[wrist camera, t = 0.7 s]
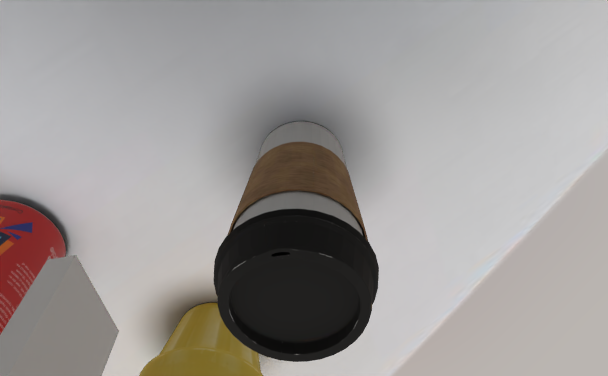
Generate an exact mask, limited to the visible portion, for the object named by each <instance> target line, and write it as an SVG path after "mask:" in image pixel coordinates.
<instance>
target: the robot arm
mask: <svg viewBox="0 0 608 376" xmlns="http://www.w3.org/2000/svg"><path fill="white" fill-rule="evenodd" d="M118 332H119V330H118V329H117V327H116V325H115V323H114V322H113V320H112V318H111V316H110V315H109V313H108V311H107V309H106V307H105V306H104V304H103V302H102V300H101V299H100V297H99V295H98V293H97V292H96V290H95V288H94V286H93V285H92V283H91V281H90V279H89V277H88V276H87V274H86V272H85V270H84V269H83V267H82V265H81V263H80V262H79V260H78V258H77V256H76V255H74V256H67V257H61V258H55V259H49V260H47V261H46V263H45V264H44V266H43V267H42V269H41V271H40V272H39V274H38V275H37V277H36V279H35V280H34V282H33V283H32V285H31V287H30V288H29V290H28V291H27V293H26V295H25V296H24V298H23V299H22V301H21V303H20V304H19V306H18V307H17V309H16V311H15V312H14V314H13V315H12V317H11V319H10V320H9V322H8V323H7V325H6V327H5V328H4V330H3V331H2V333H1V335H0V376H102V373H103V370H104V368H105V365H106V363H107V360H108V358H109V355H110V353H111V350H112V347H113V345H114V342H115V340H116V337H117V335H118Z"/></svg>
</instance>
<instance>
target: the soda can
mask: <svg viewBox="0 0 608 376" xmlns="http://www.w3.org/2000/svg"><path fill="white" fill-rule="evenodd" d="M65 256H66V247H65V243H64V240H63V237H62V235H61V233H60V232H59V230H58V229H57V227H56V226H55V225H54V224H53V223H52V222H51V221H50V220H49V219H48V218H47V217H46V216H45V215H43V214H42V213H40V212H39V211H37V210H35V209H33V208H31V207H29V206H27V205H24V204H21V203H18V202H14V201H8V200H0V335H1V333H2V331H3V330H4V328H5V327H6V325H7V323H8V322H9V320H10V319H11V317H12V315H13V314H14V312H15V311H16V309H17V307H18V306H19V304H20V303H21V301H22V299H23V298H24V296H25V295H26V293H27V291H28V290H29V288H30V287H31V285H32V283H33V282H34V280H35V279H36V277H37V275H38V274H39V272H40V271H41V269H42V267H43V266H44V264H45V263H46V261H47V260H49V259H55V258H61V257H65Z"/></svg>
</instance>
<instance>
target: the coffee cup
mask: <svg viewBox="0 0 608 376" xmlns="http://www.w3.org/2000/svg"><path fill="white" fill-rule="evenodd" d="M378 272H379V267H378V263H377V259H376V255H375V253H374V251H373V249H372V248H371V246H370V244H369V242H368V239H367V235H366V231H365V227H364V224H363V220H362V217H361V214H360V210H359V207H358V203H357V200H356V197H355V193H354V190H353V186H352V183H351V180H350V176H349V173H348V170H347V167H346V163H345V159H344V155H343V151H342V148H341V146H340V144H339V142H338V140H337V139H336V137H335V136H334V135H333V134H332V133H331V132H330V131H329V130H327V129H326V128H324V127H322V126H320V125H318V124H315V123H311V122H304V121H300V122H291V123H287V124H284V125H282V126H280V127H278V128H277V129H275V130H274V131H272V132H271V133H270V134H269V135H268V136H267V138H266V139H265V141H264V142H263V144H262V147H261V150H260V153H259V155H258V158H257V161H256V164H255V166H254V168H253V171H252V173H251V176H250V178H249V181H248V183H247V186H246V188H245V191H244V193H243V196H242V198H241V201H240V204H239V206H238V209H237V211H236V214H235V216H234V219H233V221H232V224H231V227H230V230H229V233H228V236H227V237H226V238H225V240H224V241H223V243H222V244H221V246H220V247H219V249H218V252H217V256H216V259H215V265H214V285H215V290H216V294H217V296H218V304H217V305H218V309H219V313H220V316H221V318H222V320H223V322H224V324H225V326H226V327H227V328H228V330H229V331H230V332H231V333H232V335H233V336H234V337H235V338H237V339H238V340H239V341H240V342H241V343H242V344H243V345H245V346H247V347H248V348H250V349H251V350H253V351H255V352H257V353H260V354H262V355H264V356H267V357H271V358H274V359H278V360H285V361H293V362H298V361H312V360H318V359H322V358H325V357H329V356H332V355H334V354H336V353H338V352H340V351H342V350H344V349H346V348H347V347H348V346H349V345H351V344H352V343H353V342H355V341H356V340H357V338H358V337H359V336H360V335H361V334H362V333H363V331H364V329H365V327H366V326H367V324H368V322H369V318H370V315H371V311H372V304H373V302H374V300H375V296H376V293H377V289H378Z"/></svg>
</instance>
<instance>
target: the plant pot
mask: <svg viewBox="0 0 608 376" xmlns="http://www.w3.org/2000/svg"><path fill="white" fill-rule="evenodd" d="M217 304H218V303H205V304H200V305H198V306H195V307H193V308H192V309H190V310H189V311H188V312H187V313H186V314H185V315H184V316H183V317H182V319H181V320H180V322H179V324H178V325H177V327H176V329H175V330H174V332H173V334H172V335H171V337H170V338H169V340H168V342H167V343H166V345H165V346H164V348H163V350H162V351H161V353H160V354H159V355H158V356H157V357H155V358H153V359H152V360H151V361H150V362H149V363H148V364H147V365H146V366H145V367H144V368H143V370H142V371H141V373H140V375H139V376H263V375H262V373H261V370H260V363H259V356H258V353H257V352H255V351H253V350H251V349H250V348H248V347H247V346H245V345H243V344H242V343H241V342H240V341H239V340H238V339H237V338H235V337H234V336H233V335H232V333H231V332H230V331H229V330H228V328H227V327H226V326H225V324H224V322H223V320H222V318H221V316H220V313H219V309H218V305H217Z"/></svg>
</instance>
